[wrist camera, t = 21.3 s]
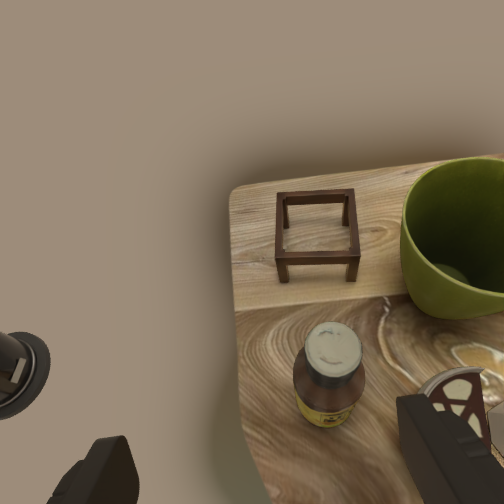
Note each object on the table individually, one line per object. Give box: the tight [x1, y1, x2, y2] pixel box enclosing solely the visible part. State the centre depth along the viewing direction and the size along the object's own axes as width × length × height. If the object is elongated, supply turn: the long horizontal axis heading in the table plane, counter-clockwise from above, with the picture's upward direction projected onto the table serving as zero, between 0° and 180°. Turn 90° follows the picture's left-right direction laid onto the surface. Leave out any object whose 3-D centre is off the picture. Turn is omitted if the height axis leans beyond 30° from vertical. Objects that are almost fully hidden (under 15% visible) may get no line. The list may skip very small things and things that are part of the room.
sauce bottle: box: [293, 322, 365, 428], centre depth 34 cm, size 6×6×20 cm
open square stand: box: [275, 188, 361, 283], centre depth 50 cm, size 10×10×7 cm
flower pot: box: [400, 157, 504, 319], centre depth 40 cm, size 15×15×16 cm
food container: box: [417, 366, 492, 455], centre depth 35 cm, size 12×6×10 cm, turn 171°
